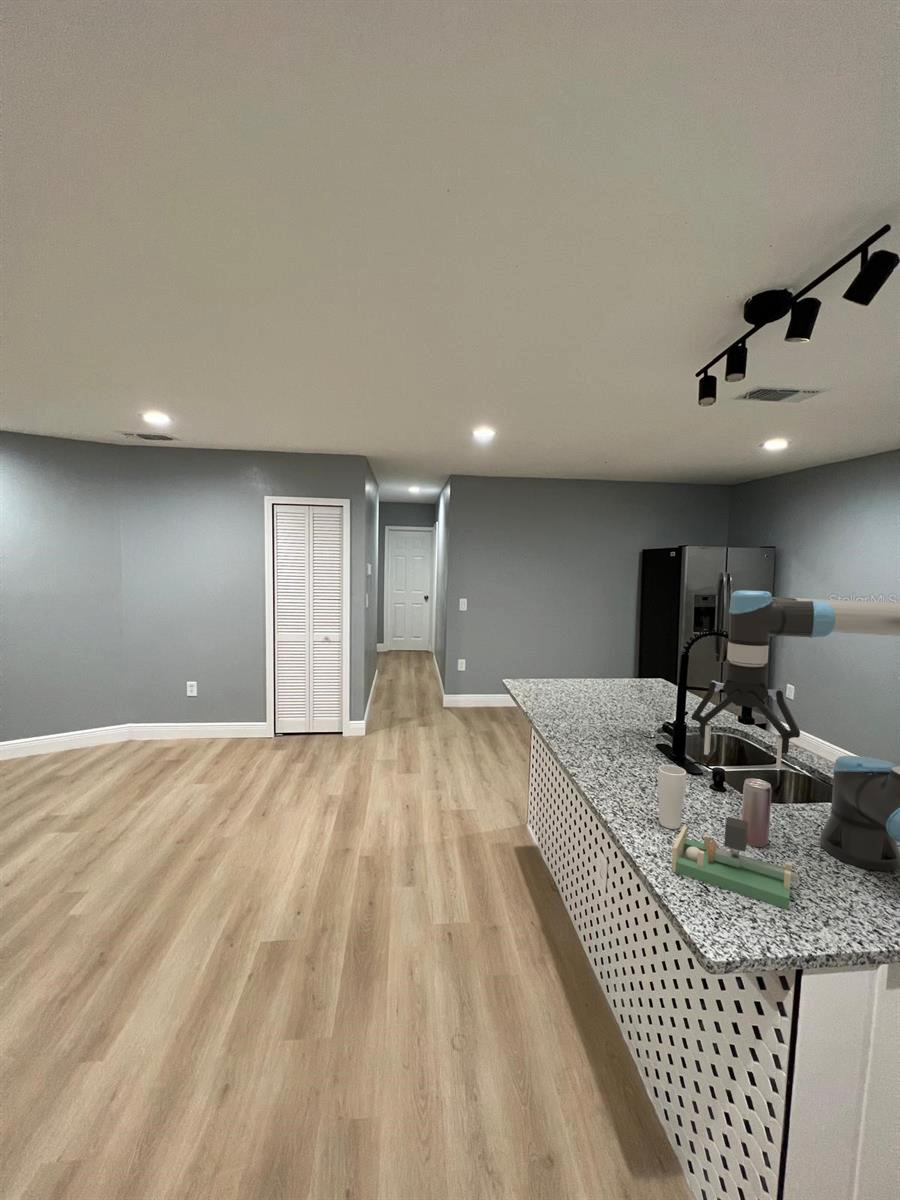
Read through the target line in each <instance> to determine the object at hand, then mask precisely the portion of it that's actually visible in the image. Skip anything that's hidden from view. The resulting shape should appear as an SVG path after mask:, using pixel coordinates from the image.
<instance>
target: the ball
mask: <svg viewBox="0 0 900 1200" xmlns="http://www.w3.org/2000/svg"><path fill="white" fill-rule="evenodd" d="M698 850H699V849H698V848H697V847H693V846H692V847H689V848H688V849H687V850H686V857H687V859H688V860H690V861H693V862H696V863H697V857H698Z"/></svg>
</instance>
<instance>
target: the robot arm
mask: <svg viewBox="0 0 900 1200" xmlns="http://www.w3.org/2000/svg"><path fill="white" fill-rule="evenodd" d="M730 597H731V598H730V602H729V603H730V604H729V610H728V613H729V615H728V616H729V617H728V619H729V620H728V622H729V623H728V641H727V656H726V659H727V660H728V662H727V663H726V673H725V674H726V675H725V682H724V683H722V682H718V681H717V680H715V679H713V680H711V681H710V682H709V684H708V685H709V686H708V691H707V693H705V695H704V697H703V698H702V700H701V702H700V703H699V705H698V706H697V707H696V709H695V710H694V712H693V714H692V715H691V720H693V721H695V722H698V723H699V737H700V739H704V745H703V746H704V748H703V749H704V750H703V755H705V756H709V753H710V749H711V734H712V733H711V732H712V723H711V722H709V721H711V720H712V719H713V718H715V717H716V716H717V715H718V714H719V713H721V711H723V710H724V709H725V708H727V707H728V706H729V705H730V704H733V705H735V706H736V707H746V708H750V709H754V708H755V707H756V708H757V709H758V710H759V711H760V712H761V713H762V714H763V715H764V717H765V718H766V719H767V720H768V722H770V724H771V725H772V726H773V728H775V730H776V731H777V732H778V736H777V744H776V745H777V748H776V762H775V763H776V765H775V769H776V770H781V767H782V755H783V754H785V755H788V753H789V749H790V748H789V747H790V746H789V745H790V739H793V738H794V739H795V738H800V737H801V730H800V728H799V726H798V724H797V722H796V721H795V719H794V716H793V714H792V713H791V710H790V708H789V706H788V704H787V702H786V700H785V693H784V689H783V688H777V689H770V688H769V689H768V686H767V680H768V667H767V665H766V664H768V660H769V644H770V637H797V638H799V637H800V638H802V637H803V638H810V639H812V638H823V637H827V636H829V635H830V634H831V633H839V634H842V633H845V634H858V635H859V634H860V635H875V636H876V635H877V636H893V637H900V602H885V601H881V602H880V601H866V600H865V601H864V600H863V601H861V600H860V601H859V600H847V599H846V600H844V599H843V600H842V599H822V598H821V599H820V598H805V597H804V598H803V597H802V598H799V597H781V596H779V597H778V596H777V597H776V596H774V597H773V596H772V593H771V592H769V591H765V590H764V591H763V590H744V589H743V590H742V589H741V590H736V591H734V592H733V593H732V594H731V596H730ZM720 690H723V691H724V693H725V694H726V697H725V698H723V700H721V701H720V702H719V703H718V704H716V705H715V706H714V707H713V708H712V709H710V711H708V712H707V713H706V714H705V715H701V714H702V713H703V711H704V709H705V708H706V707H707V705H708V704H709V702H710V701H711V699H712V698H713V696H714V695H715V693H719V691H720ZM768 696H771V698H772V700H774V701H776V703H777V706H778V708H779V710H780V712H781V714H782V716H783V718H784V720H785V722H786V724H787V726H788V728H789V730H788V729H787V728H786V726H785V725H784V724H783V723H782V722H781V720H780V719H779V718H778V717H777V716H776V714H775V713H774V712H773V711H772V710H771V708H770V707H769V706H768V704H767V703H766V701H765V699H766V698H767V697H768ZM832 773H833V779H832V781H833V782H832V794H831V795H832V796H831V797H832V798H831V809H830V810H831V811H830V815H829V817H828V819H827V821H826V822H825V824H824V825H823V828H822V830H821V832H820V837H819V838H820V839H819V844H820V846H821V847H822V849H823V850H824V851H825V852H826V853H828V854H830V855H831V856H832V857H835V858H836V859H837V860H838V859H839V860H840V861H842V862H844V863H847V864H849V865H853V866H855V867H859V868H862V869H866V870H871V871H876V872H877V871H878V872H891V871H895V870H898V869H899V868H900V848H899V846H898V843H900V765H898V766H897V764H895V763H894V762H891V761H889V760H888V761H887V760H884V759H881V758H880V759H879V758H874V757H868V756H859V755H843V756H842V755H841V756H839V757H837V758H836V760H835V762H834V765H833V771H832Z"/></svg>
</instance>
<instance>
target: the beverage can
mask: <svg viewBox="0 0 900 1200" xmlns="http://www.w3.org/2000/svg"><path fill="white" fill-rule="evenodd" d="M772 791H773V790H772V785H771V783H770V782H768V781H765V780H762V779H759V778H751V777H750V778H746V779H745V780H744V783H743V790H742V803H741V805H742V806H741V807H742V808H741V820H743V821H747V822H749V823H748V839H747V845H749V846H751V847H758V848H764V847H766V846H767V845H768V844H769V838H770V837H769V836H770V823H771V822H770V821H771V806H772Z"/></svg>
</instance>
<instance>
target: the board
mask: <svg viewBox="0 0 900 1200" xmlns="http://www.w3.org/2000/svg"><path fill="white" fill-rule="evenodd" d="M687 835H688V826H687V825H683V826H682V828H681V830H680V832H679V834H678V836H677V838H676V840H675V842H674V844H673V846H672V855H671V872H673V873H675V874H680V875H682V876H686V877H688V878H692V879H695V880H698V881H700V882H703V883H706V884H709V885H712V886H715V887H717V888H721V889H725V890H727V891H731V892H734V893H737V894H739V895H743V896H745V897H749V898H751V899H753V900H754V899H755V900H757V901H759V902H760V901H761V902H763V903H767V904H769V905H773V906H775V907H778V908H780V909H781V908H782V909H785V910H788V911H789V909H790V908H789V907H790V906H789V905H790V895H791V883H792V882H791V872H792V865H793V863H792V862H789V861H785V865H784V866H785V867H784V866H780V865H776V864H773V863H772V862H771V863H769V862H767V861H763V860H760V859H757V858H753V857H750V856H746V855H743V854H740V855H741V857H743V858H747V859H750V860H753V861H757V862H760V863H763V864H767V865H770V866H774V867H777V868H780V869H784V870H785V874H784V879H781V878H778V877H774V876H771V875H768V874H765V873H761V872H758V871H755V870H751V869H748V868H745V867H742V866H740V867H739V868H738V867H735V866H732V865H728V864H725V863H722V862H719V861H715V860H714V861H713V862H711V861H708V852H709V847H710V844H711V839H712V838H711V837H712V836H711V835H709V834H707V833H704V836H703V843H702V842H699V841H696V840H691V839H689V838H688V837H687ZM692 846H693V847H697V848H698V849H699V850H698V857H697V863H696V862H693V861H690V860H688V859H687V857H686V850H687V849H688V848H689V847H692ZM719 849H721V848H719Z"/></svg>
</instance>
